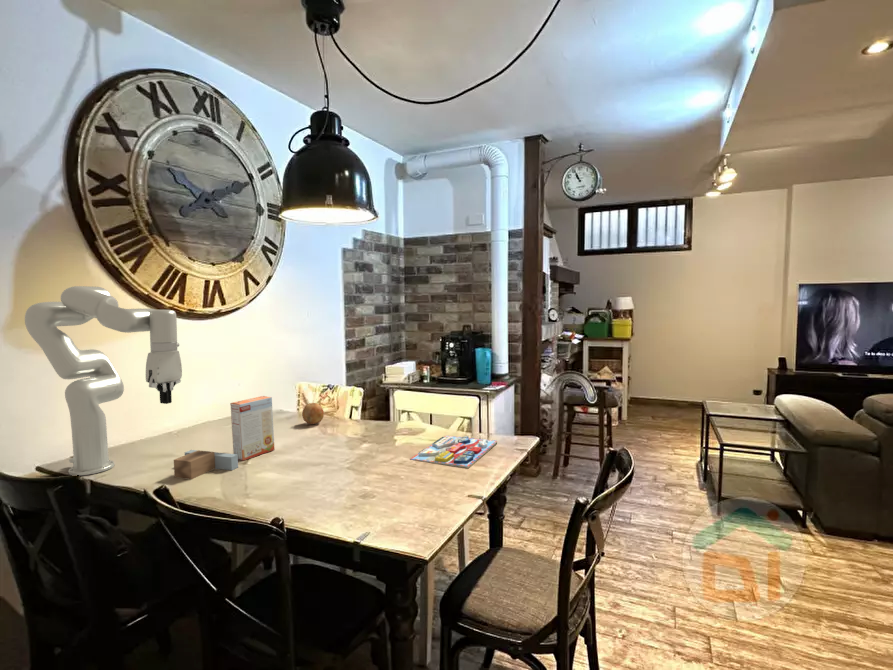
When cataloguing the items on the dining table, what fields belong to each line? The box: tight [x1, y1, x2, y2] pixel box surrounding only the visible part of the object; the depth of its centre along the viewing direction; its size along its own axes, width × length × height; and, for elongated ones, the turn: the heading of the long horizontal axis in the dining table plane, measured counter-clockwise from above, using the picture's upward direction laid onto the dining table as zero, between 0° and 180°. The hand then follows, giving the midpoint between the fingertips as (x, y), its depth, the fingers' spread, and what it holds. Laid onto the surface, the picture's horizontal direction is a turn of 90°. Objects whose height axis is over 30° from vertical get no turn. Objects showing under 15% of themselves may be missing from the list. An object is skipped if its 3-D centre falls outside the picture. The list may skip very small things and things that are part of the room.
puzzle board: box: [409, 435, 498, 469], centre depth 176 cm, size 30×23×3 cm
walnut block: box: [173, 449, 216, 480], centre depth 157 cm, size 7×10×6 cm
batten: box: [184, 449, 239, 471], centre depth 163 cm, size 20×3×4 cm, turn 73°
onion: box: [301, 402, 325, 425], centre depth 218 cm, size 10×10×10 cm
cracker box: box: [230, 395, 275, 461], centre depth 174 cm, size 14×6×21 cm, turn 148°
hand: (165, 402), depth 154 cm, fingers closed
